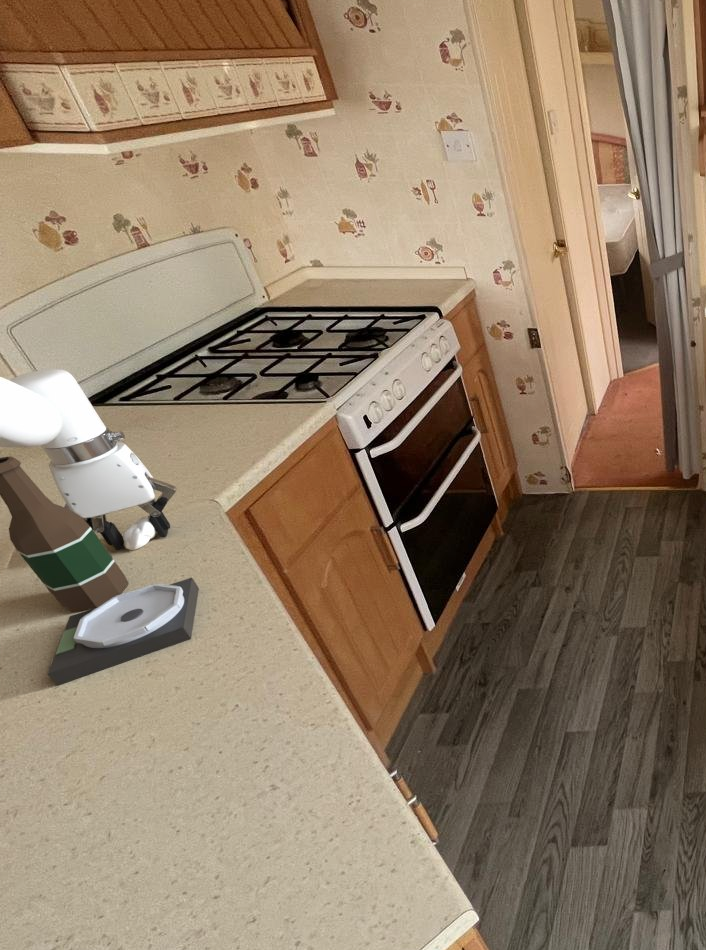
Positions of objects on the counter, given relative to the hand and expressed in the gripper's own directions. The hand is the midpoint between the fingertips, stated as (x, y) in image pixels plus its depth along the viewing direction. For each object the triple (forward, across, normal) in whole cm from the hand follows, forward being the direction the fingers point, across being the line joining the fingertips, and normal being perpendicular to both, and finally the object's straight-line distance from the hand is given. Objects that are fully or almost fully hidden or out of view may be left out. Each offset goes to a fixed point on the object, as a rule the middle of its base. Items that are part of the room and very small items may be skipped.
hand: (142, 538), depth 115 cm
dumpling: (+1, 0, 0) cm, 1 cm away
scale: (0, -2, +28) cm, 28 cm away
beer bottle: (+1, +4, +14) cm, 15 cm away
